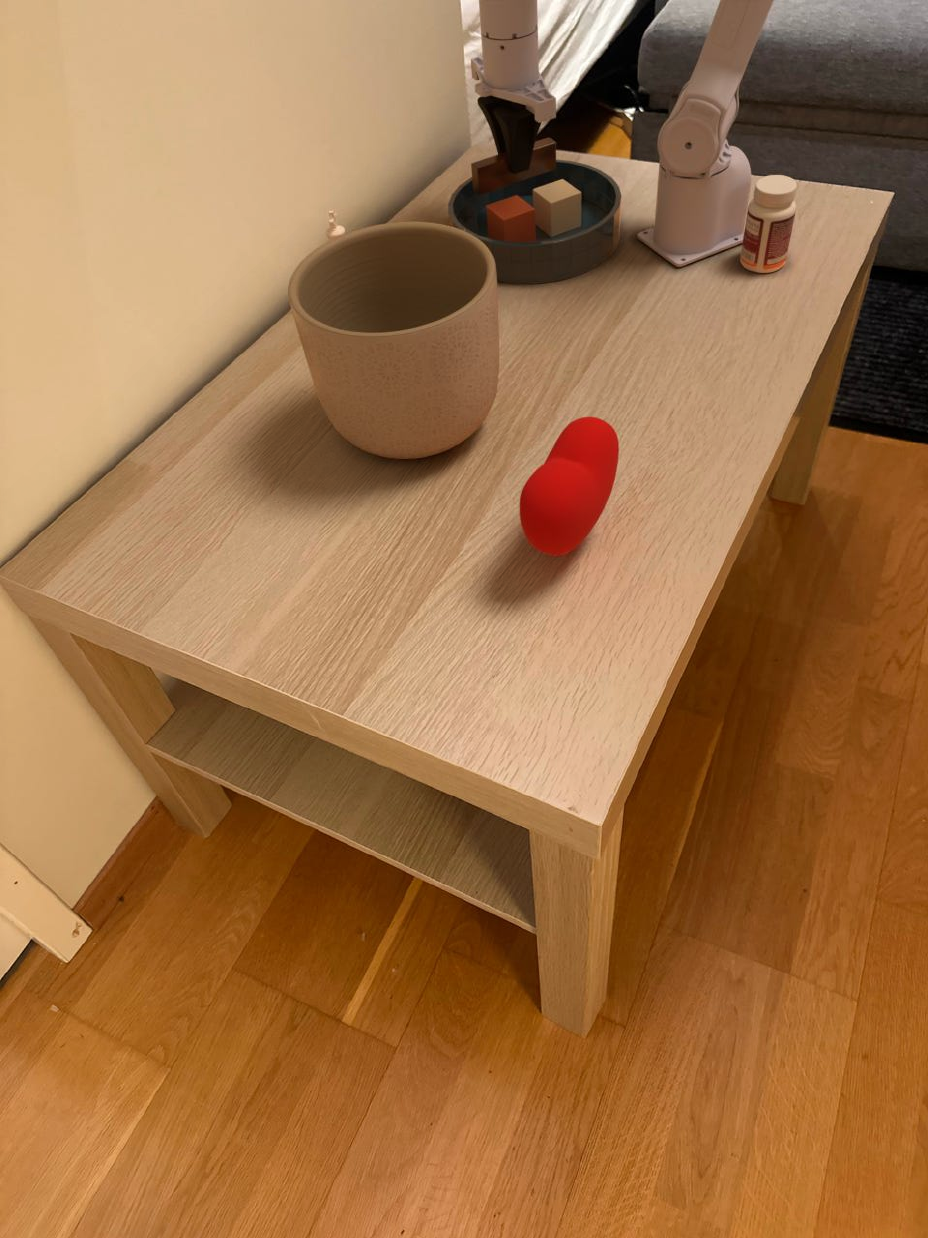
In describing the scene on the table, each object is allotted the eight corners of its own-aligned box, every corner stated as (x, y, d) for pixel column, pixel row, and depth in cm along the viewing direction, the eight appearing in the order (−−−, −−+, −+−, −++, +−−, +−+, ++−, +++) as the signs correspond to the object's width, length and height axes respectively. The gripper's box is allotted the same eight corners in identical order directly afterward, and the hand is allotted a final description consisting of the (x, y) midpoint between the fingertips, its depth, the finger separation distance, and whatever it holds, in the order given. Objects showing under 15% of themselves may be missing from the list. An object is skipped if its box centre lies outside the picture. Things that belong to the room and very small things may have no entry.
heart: (570, 488, 77) (570, 393, 69) (629, 506, 75) (636, 411, 67) (507, 582, 71) (500, 489, 63) (569, 604, 69) (569, 512, 61)
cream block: (562, 212, 105) (562, 178, 102) (581, 226, 103) (581, 191, 99) (533, 223, 104) (532, 188, 101) (551, 237, 102) (550, 202, 99)
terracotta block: (518, 228, 104) (516, 194, 100) (536, 243, 101) (535, 208, 98) (488, 239, 103) (485, 205, 99) (505, 254, 100) (503, 219, 97)
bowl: (562, 180, 111) (562, 143, 107) (653, 246, 100) (656, 207, 96) (424, 229, 106) (419, 192, 103) (503, 304, 95) (500, 264, 92)
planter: (476, 497, 77) (460, 346, 65) (297, 470, 81) (252, 324, 70) (525, 377, 87) (519, 227, 75) (364, 359, 91) (334, 214, 79)
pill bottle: (787, 252, 97) (804, 173, 90) (782, 276, 94) (798, 197, 87) (742, 248, 98) (755, 170, 91) (736, 271, 95) (748, 193, 89)
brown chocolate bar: (549, 163, 103) (548, 136, 100) (556, 169, 102) (556, 141, 99) (472, 190, 100) (470, 163, 98) (479, 195, 100) (477, 168, 97)
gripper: (441, 19, 93) (453, 153, 103) (510, 61, 84) (516, 203, 95) (500, 1, 94) (507, 135, 105) (574, 42, 86) (573, 183, 97)
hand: (515, 166), depth 100 cm, fingers closed on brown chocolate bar, 1 cm apart
